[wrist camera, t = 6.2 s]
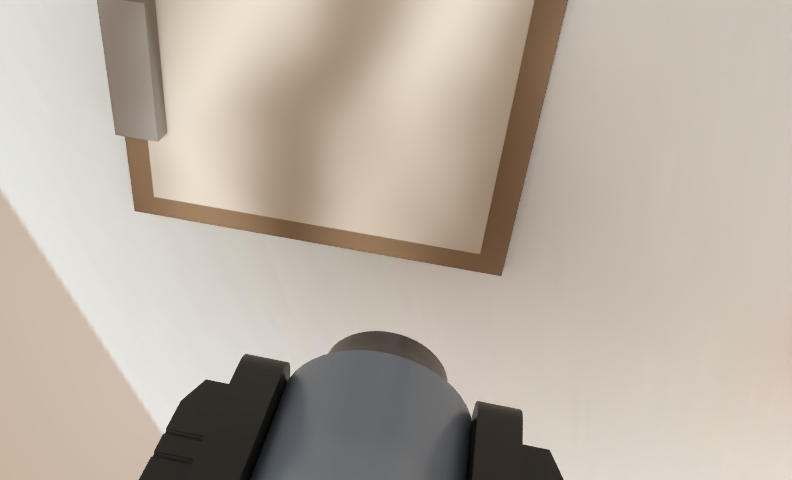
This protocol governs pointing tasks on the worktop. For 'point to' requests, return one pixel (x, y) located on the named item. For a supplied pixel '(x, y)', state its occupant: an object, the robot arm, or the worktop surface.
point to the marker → (368, 416)
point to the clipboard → (335, 117)
